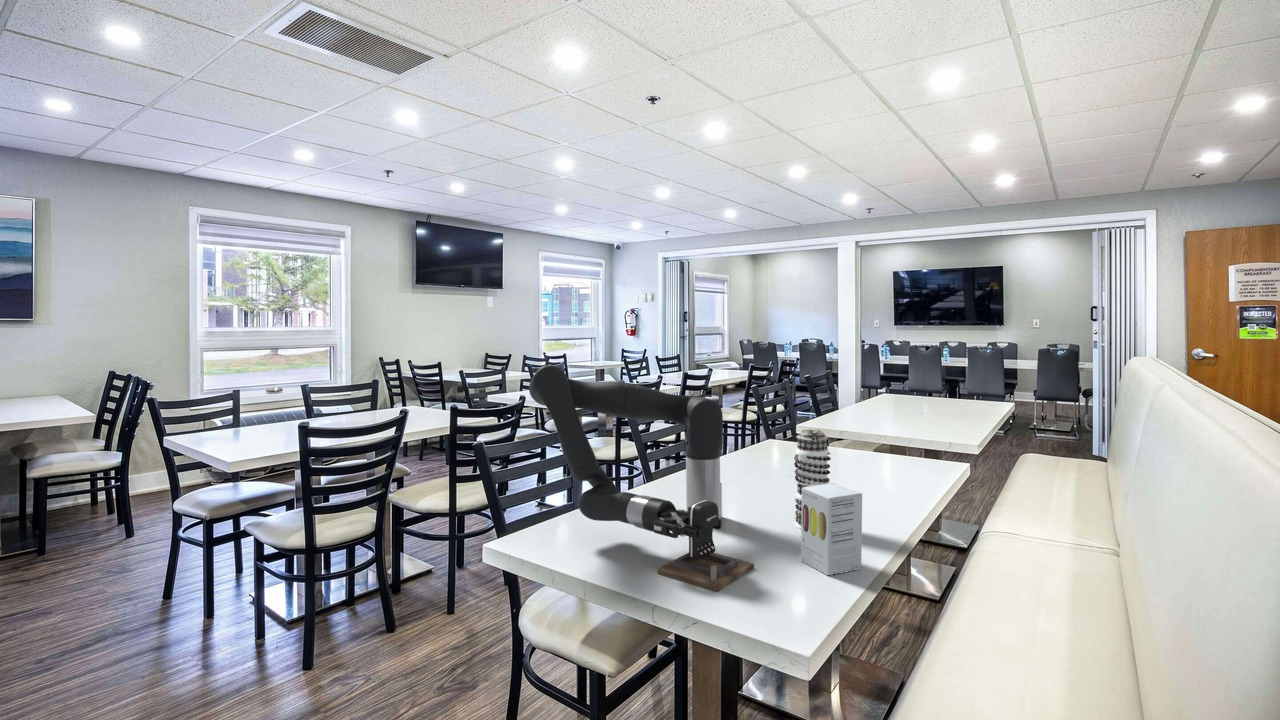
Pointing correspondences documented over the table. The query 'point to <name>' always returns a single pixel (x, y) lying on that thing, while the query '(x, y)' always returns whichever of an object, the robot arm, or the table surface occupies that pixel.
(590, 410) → the robot arm
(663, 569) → the locating plate
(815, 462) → the decorative candle
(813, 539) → the supplement box
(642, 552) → the table surface
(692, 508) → the battery charger
